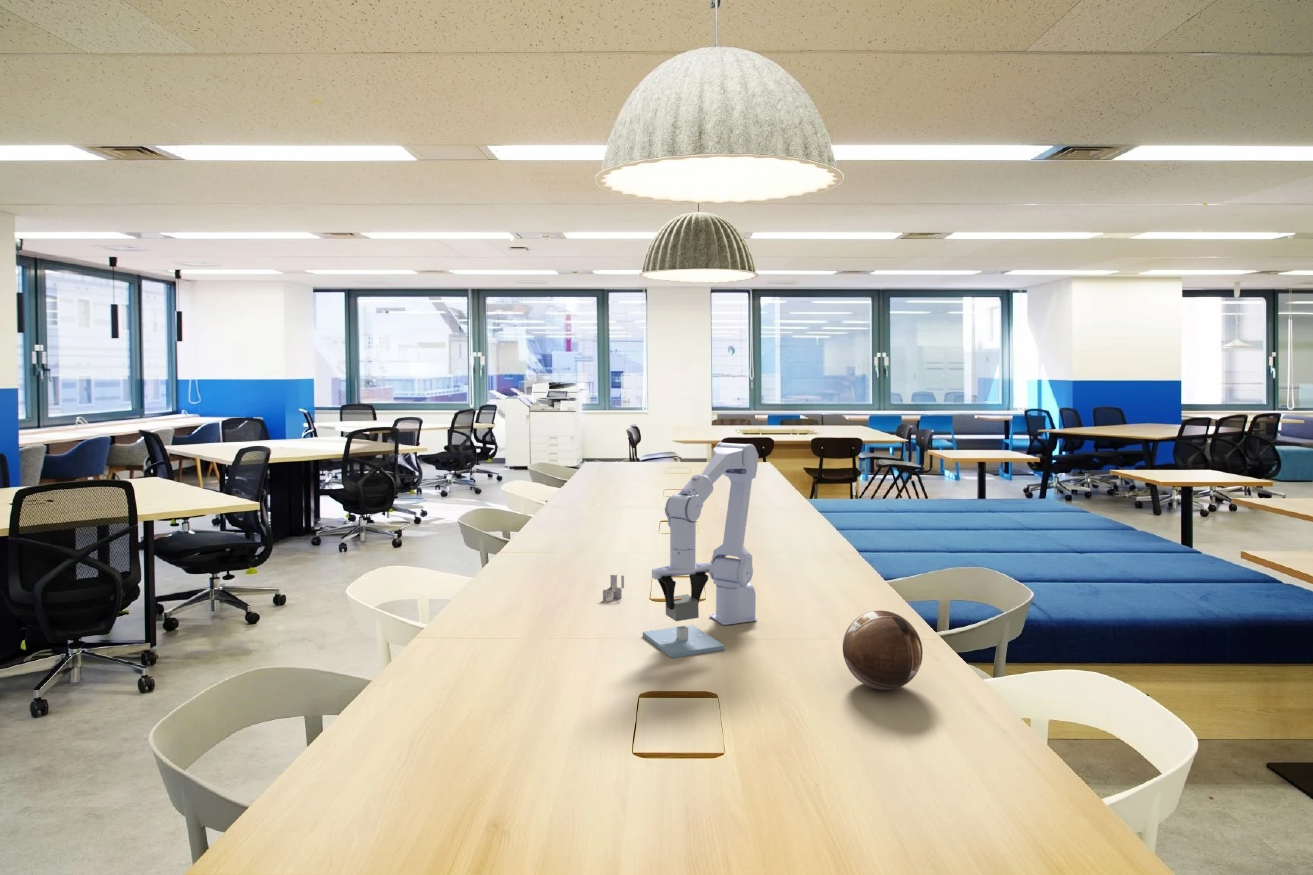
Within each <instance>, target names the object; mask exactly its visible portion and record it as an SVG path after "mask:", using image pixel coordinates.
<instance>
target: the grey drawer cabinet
mask: <svg viewBox="0 0 1313 875" xmlns="http://www.w3.org/2000/svg"><path fill="white" fill-rule="evenodd" d="M664 601H665V602H666V600H665V599H664ZM665 616H666V617H669V618H670V619H672V620H673V621H675V622H681V621H687V620H692V619H698V618H699V604H698V600H697V599H695V598H693V597H691V594H690V595H689V594H687V593H686V594H680V595H674V609H672V610H670V609H669V608H667V604H666V603H665Z"/></svg>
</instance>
